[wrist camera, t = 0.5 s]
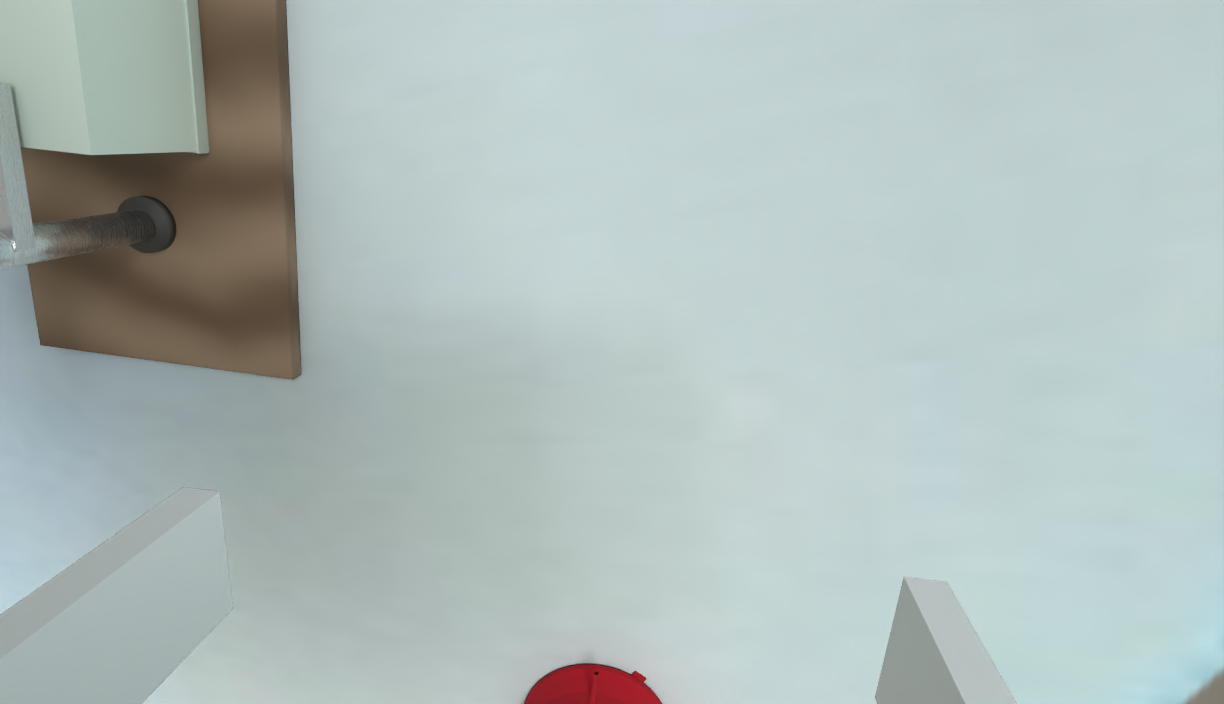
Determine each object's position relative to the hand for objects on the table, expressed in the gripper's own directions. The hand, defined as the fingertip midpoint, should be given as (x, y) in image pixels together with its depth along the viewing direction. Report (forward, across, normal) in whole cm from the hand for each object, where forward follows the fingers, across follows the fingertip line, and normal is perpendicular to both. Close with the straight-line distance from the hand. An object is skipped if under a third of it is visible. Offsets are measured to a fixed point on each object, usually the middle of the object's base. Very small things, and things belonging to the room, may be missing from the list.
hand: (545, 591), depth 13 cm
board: (+27, -28, +5) cm, 40 cm away
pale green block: (+26, -28, +11) cm, 40 cm away
